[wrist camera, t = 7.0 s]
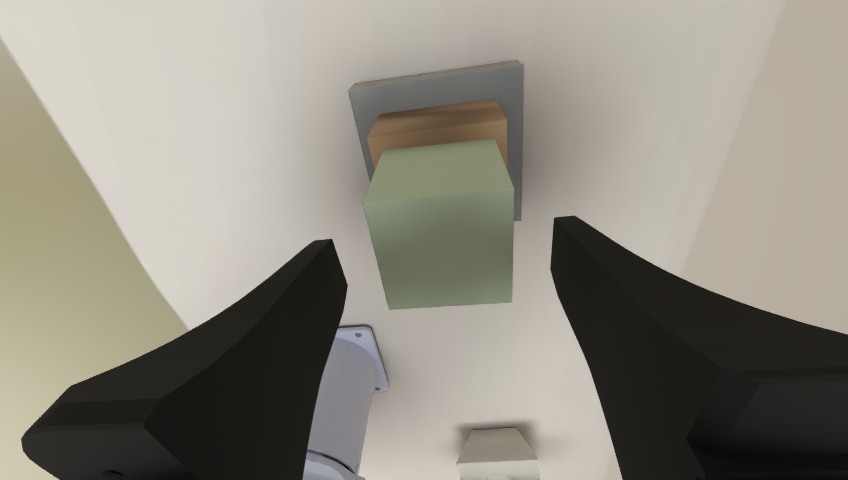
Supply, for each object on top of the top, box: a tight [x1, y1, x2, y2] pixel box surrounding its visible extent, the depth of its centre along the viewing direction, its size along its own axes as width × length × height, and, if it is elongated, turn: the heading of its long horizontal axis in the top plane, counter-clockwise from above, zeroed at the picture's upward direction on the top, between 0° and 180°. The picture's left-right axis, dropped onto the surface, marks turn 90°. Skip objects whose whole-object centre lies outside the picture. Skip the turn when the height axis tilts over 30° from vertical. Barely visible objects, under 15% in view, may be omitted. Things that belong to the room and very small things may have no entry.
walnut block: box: [367, 99, 507, 171], centre depth 17 cm, size 6×6×4 cm
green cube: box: [363, 138, 514, 310], centre depth 14 cm, size 4×4×4 cm
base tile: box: [348, 60, 523, 221], centre depth 19 cm, size 8×8×2 cm
